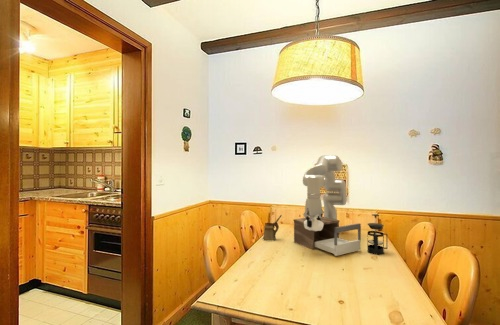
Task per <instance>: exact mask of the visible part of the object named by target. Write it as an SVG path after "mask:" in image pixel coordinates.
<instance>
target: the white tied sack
mask: <svg viewBox="0 0 500 325" xmlns="http://www.w3.org/2000/svg"><path fill="white" fill-rule="evenodd" d="M318 216H319V215H316V216H312V219H311V221H312V227H307V220H305V221H304V227H305V229H308V230H313V231H321V230H322V228H323V225H324V223H323V222H321V221H320V220H317V218H318Z"/></svg>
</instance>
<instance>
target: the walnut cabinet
mask: <svg viewBox="0 0 500 325" xmlns="http://www.w3.org/2000/svg"><path fill="white" fill-rule="evenodd" d="M311 219H312V218H311ZM305 220H306V218H305V217H301V218H294V219H293V240H294V241H293V243H295V244H297V245H301V246H302V247H305V248H308V249H311V250H317V249H319V248H317V247H315V242H316V241H321V240H326V239H331V238H334V228H335V227H340V220H338V219H337V220H336V219H331V218H327V217H324V216H322V217H321V222H323V223H324V225H323V228H322V230H321V231H313V230H308V229H305V227H304V221H305ZM337 237H338V238H340V233H337Z"/></svg>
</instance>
